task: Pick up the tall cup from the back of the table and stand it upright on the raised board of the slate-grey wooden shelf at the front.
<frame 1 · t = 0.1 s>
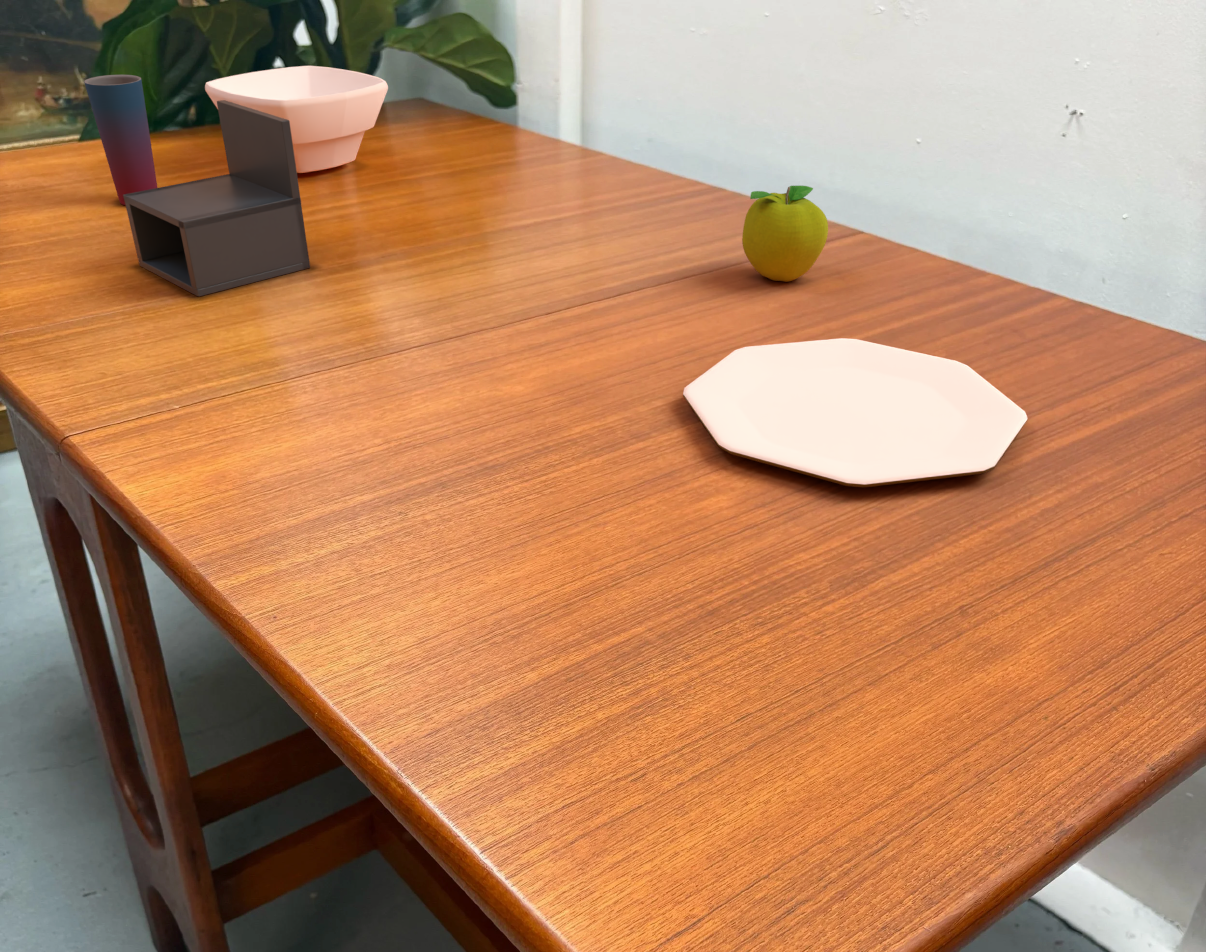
cup: (140, 202, 152), on the table
bowl: (308, 168, 167), on the table
fruit: (779, 279, 129), on the table
shelf: (224, 266, 131), on the table
plate: (849, 419, 99), on the table
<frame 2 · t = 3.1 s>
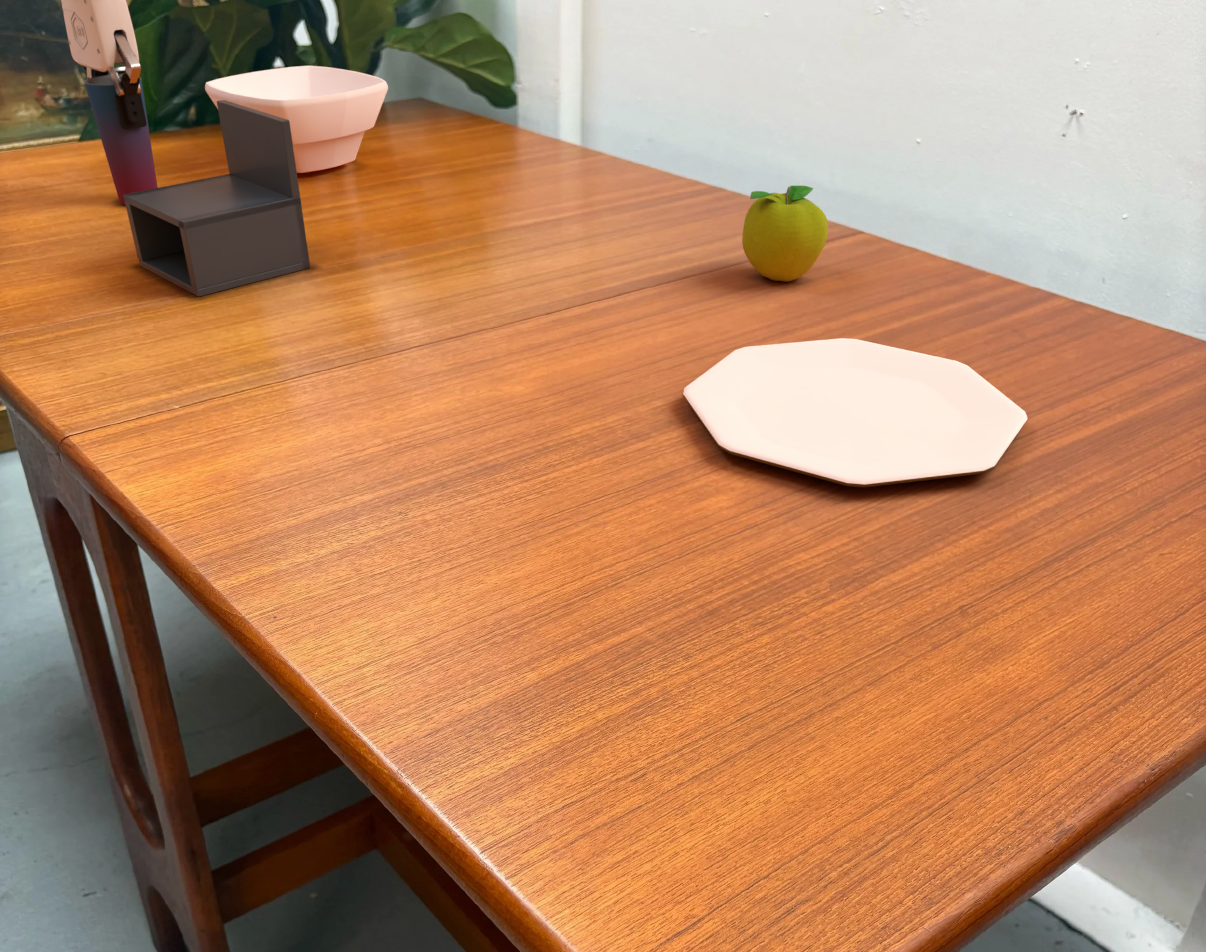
hand: (122, 121, 147), 10 cm above the table, tool pointing down, fingers closed on cup, 6 cm apart
cup: (140, 202, 152), on the table, touching gripper
everything else where it was.
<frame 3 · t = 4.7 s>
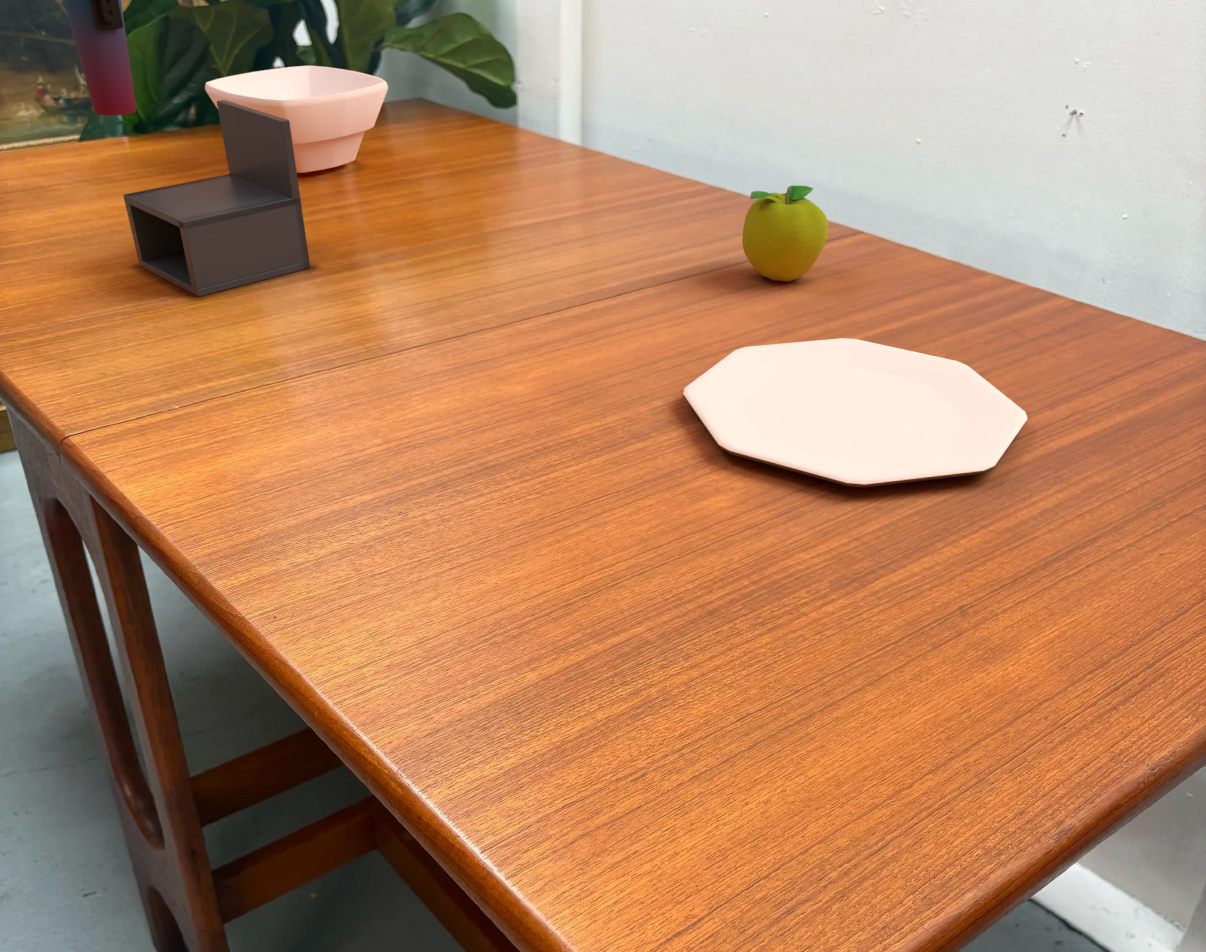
hand: (97, 24, 140), 21 cm above the table, tool pointing down, fingers closed on cup, 6 cm apart
cup: (115, 113, 145), point 11 cm above the table, touching gripper
everything else where it was.
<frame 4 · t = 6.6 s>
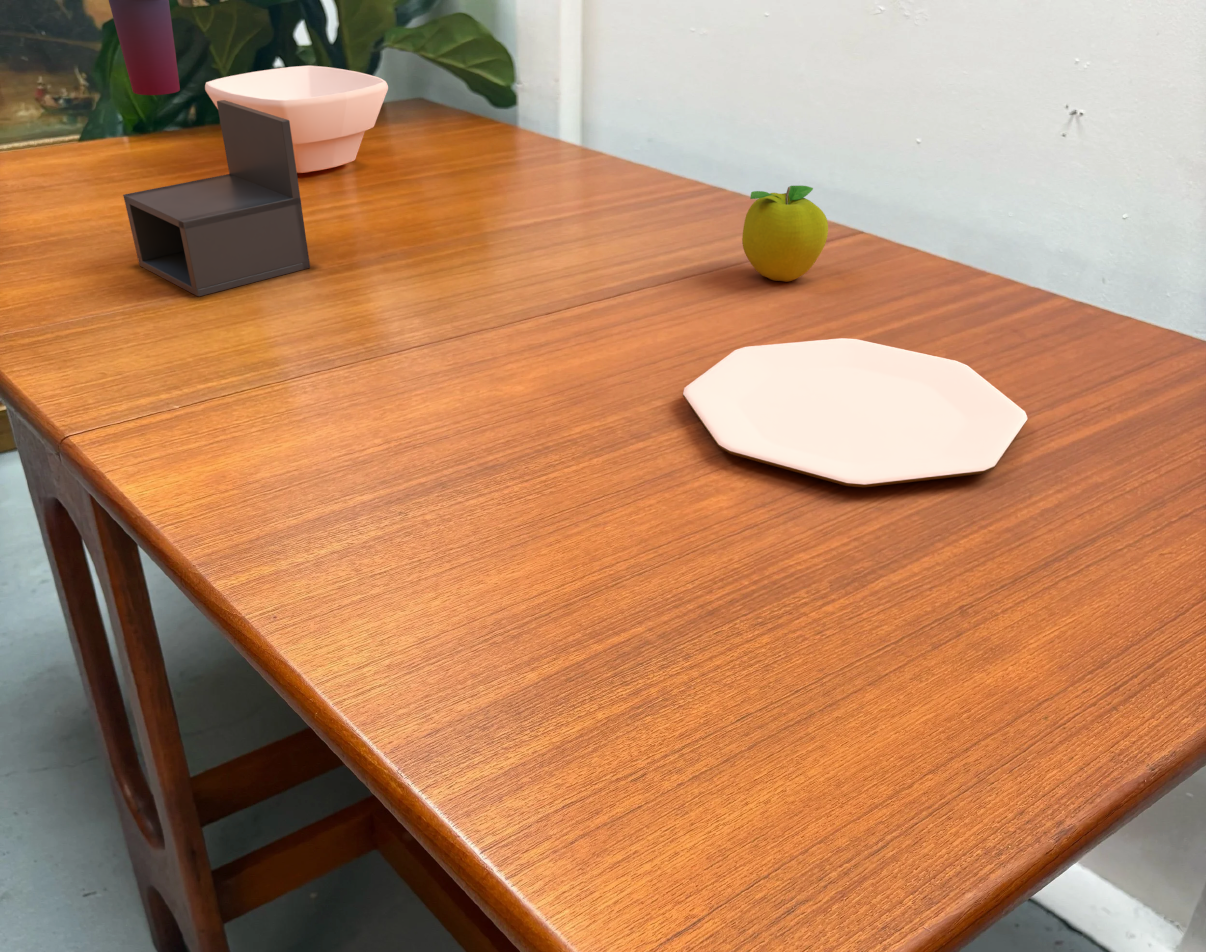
cup: (157, 92, 127), point 17 cm above the table, touching gripper
everything else where it was.
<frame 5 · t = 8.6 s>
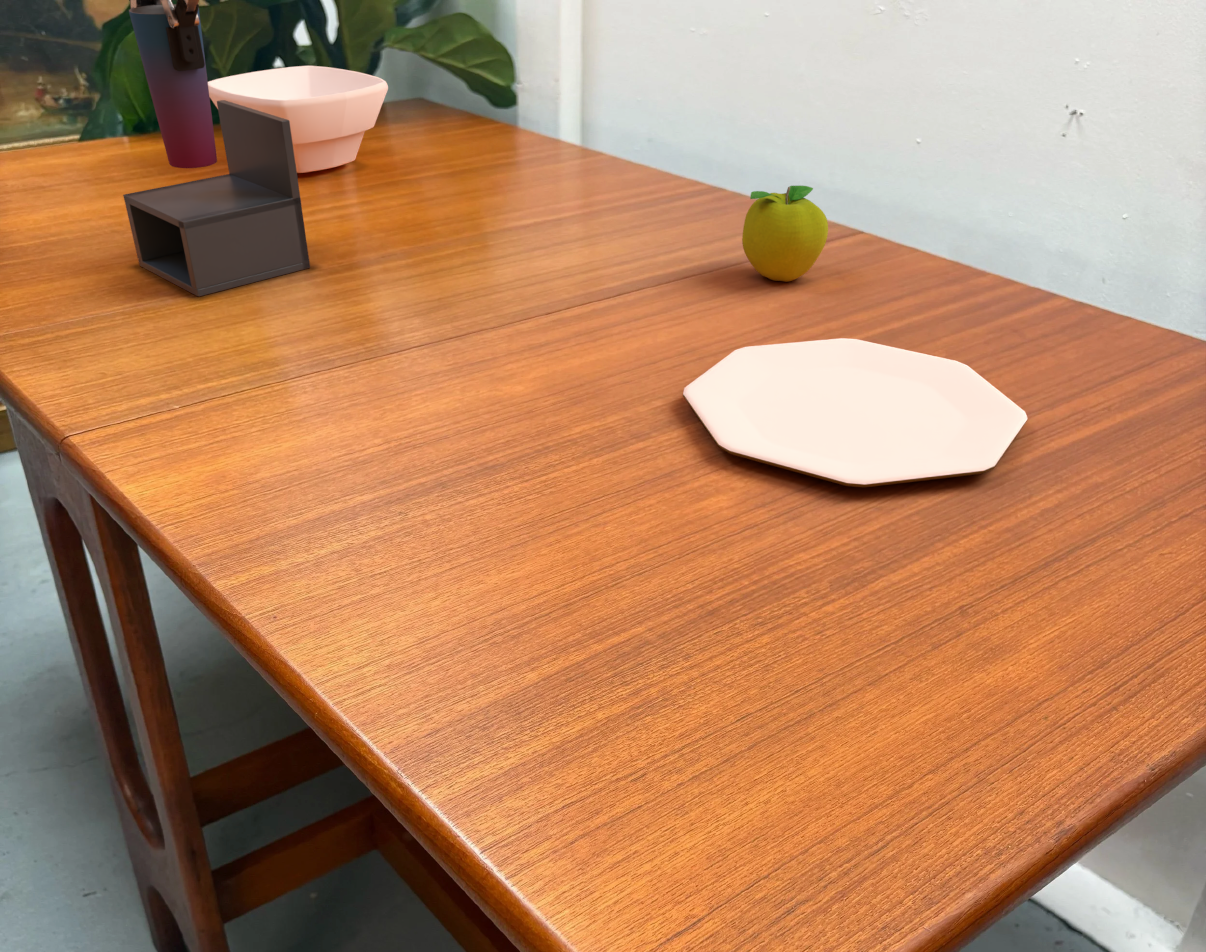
hand: (173, 62, 118), 21 cm above the table, tool pointing down, fingers closed on cup, 6 cm apart
cup: (193, 164, 124), point 11 cm above the table, touching gripper
everything else where it was.
when the fingers open (18 cm above the table, at t = 10.0 s): cup stays where it is, resting on shelf.
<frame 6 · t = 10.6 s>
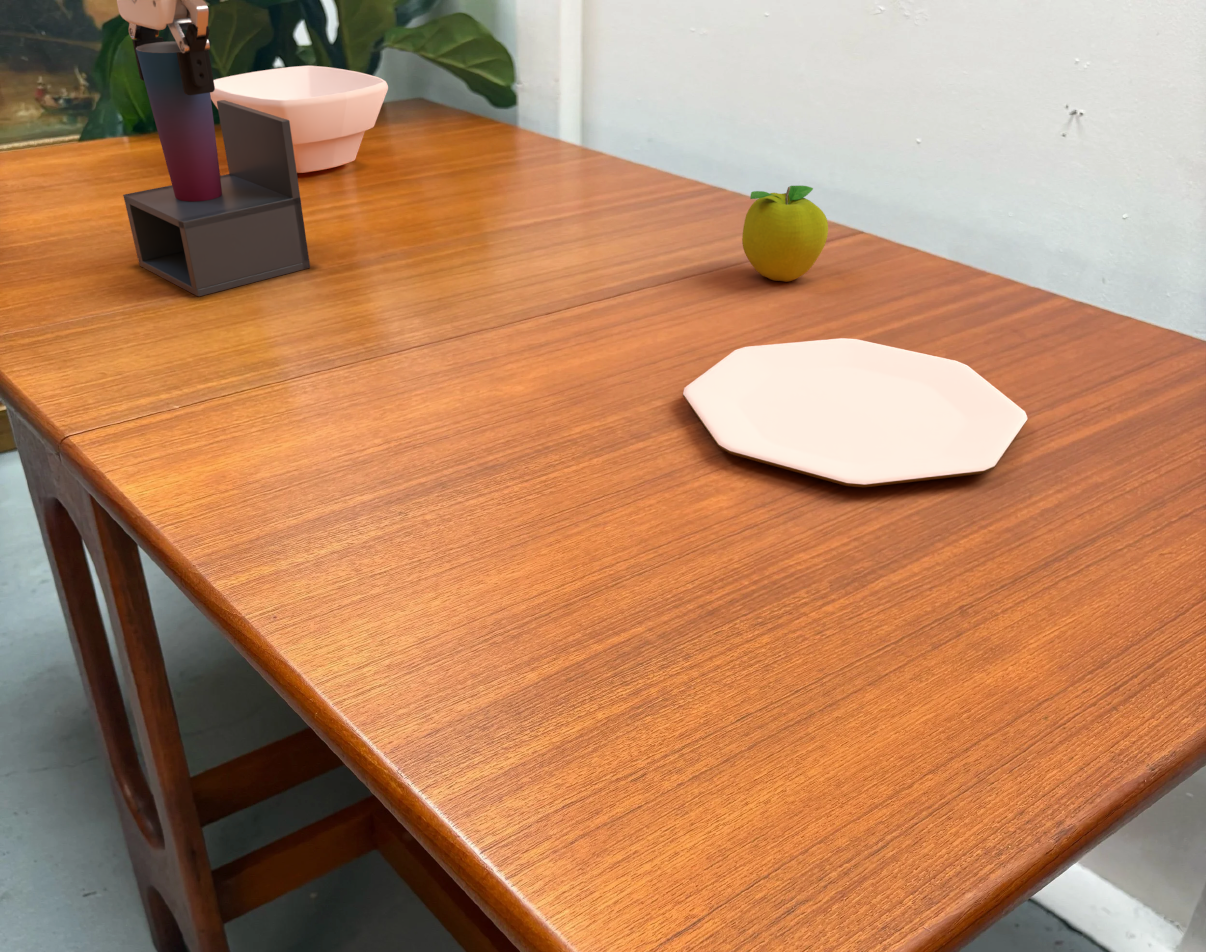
hand: (177, 86, 120), 19 cm above the table, tool pointing down, fingers open, 9 cm apart
cup: (199, 197, 126), point 8 cm above the table, touching shelf
everything else where it was.
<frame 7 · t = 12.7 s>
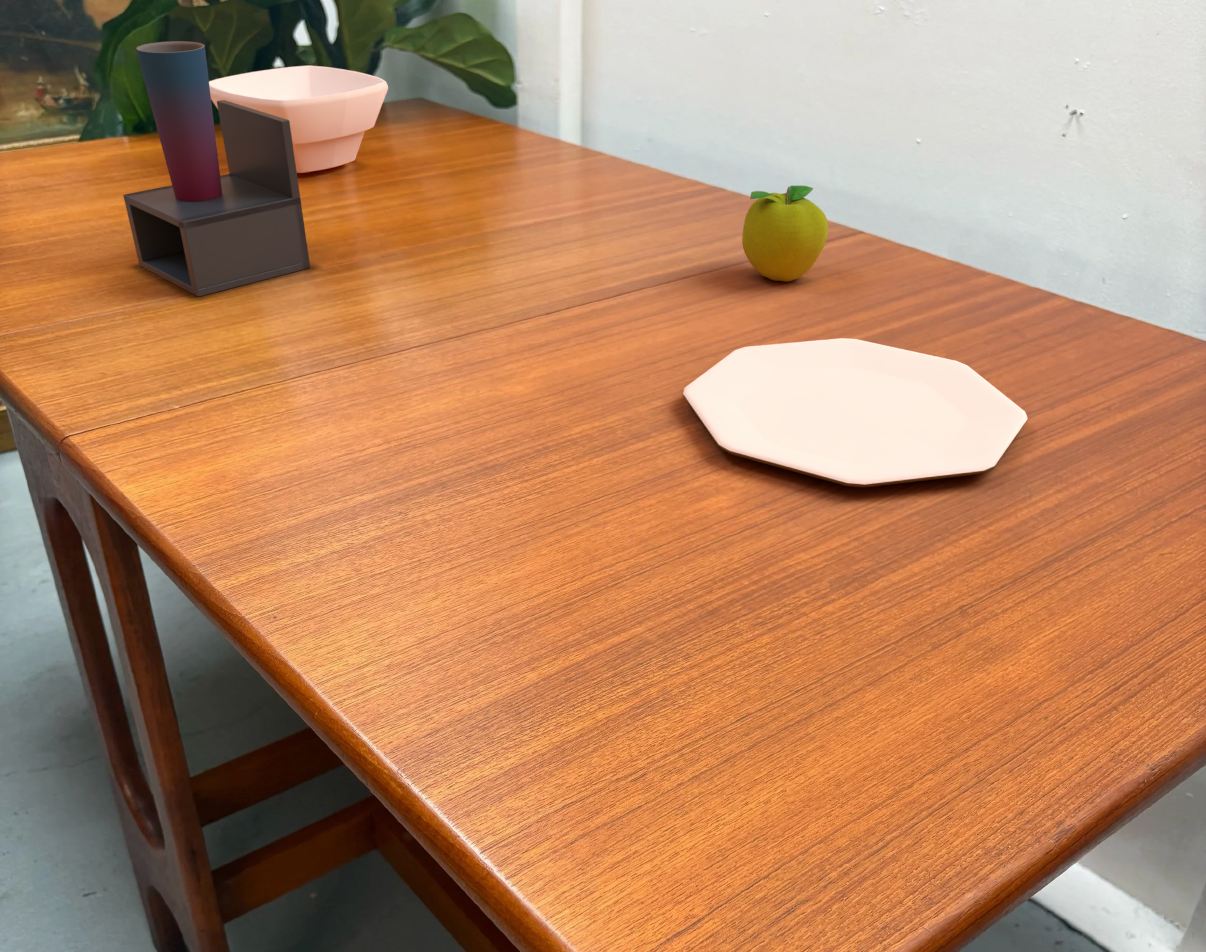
nothing on the table moved.
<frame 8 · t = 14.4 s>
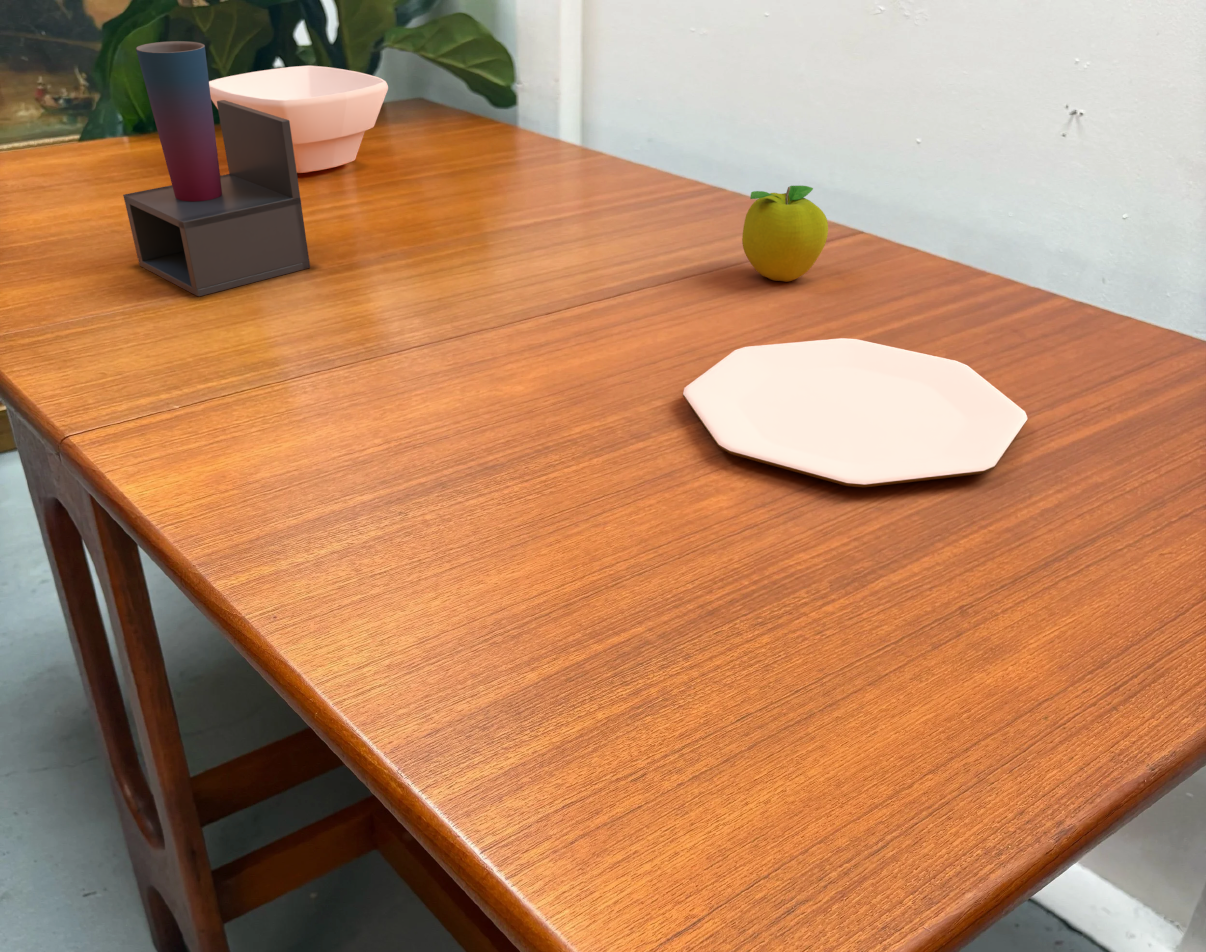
nothing on the table moved.
at the end: cup inside the target area on the shelf (1.4 cm from its centre), point 7.8 cm above the shelf's base; cup tilted 0°; the gripper is holding nothing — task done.
